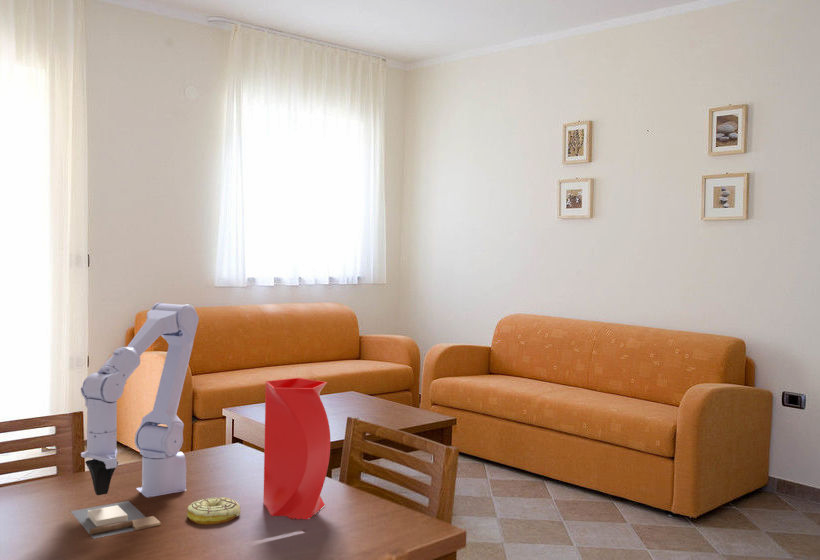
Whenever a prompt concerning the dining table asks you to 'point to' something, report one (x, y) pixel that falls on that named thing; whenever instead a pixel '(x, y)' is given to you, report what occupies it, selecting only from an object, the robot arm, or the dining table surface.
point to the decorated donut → (213, 510)
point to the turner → (127, 525)
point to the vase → (295, 447)
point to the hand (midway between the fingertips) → (101, 493)
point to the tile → (107, 516)
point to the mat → (125, 506)
